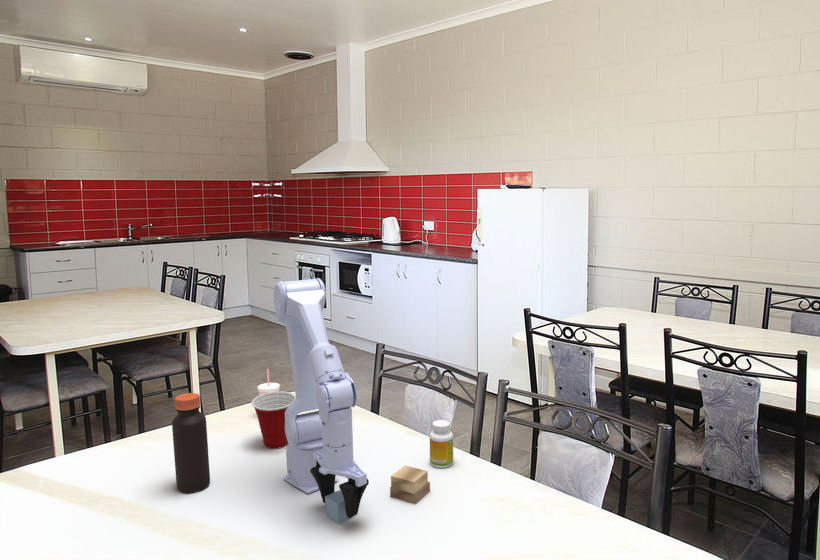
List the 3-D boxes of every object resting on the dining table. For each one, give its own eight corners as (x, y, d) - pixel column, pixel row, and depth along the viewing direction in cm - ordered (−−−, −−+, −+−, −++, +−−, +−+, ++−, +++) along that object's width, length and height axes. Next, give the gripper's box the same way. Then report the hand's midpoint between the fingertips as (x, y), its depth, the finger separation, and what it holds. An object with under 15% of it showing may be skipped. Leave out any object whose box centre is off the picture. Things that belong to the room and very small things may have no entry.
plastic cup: (248, 453, 142) (245, 406, 140) (261, 435, 152) (259, 391, 151) (292, 453, 141) (290, 406, 139) (302, 435, 152) (300, 391, 150)
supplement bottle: (451, 469, 132) (451, 428, 130) (428, 467, 133) (427, 426, 131) (454, 459, 137) (454, 419, 135) (431, 457, 138) (431, 418, 137)
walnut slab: (390, 498, 120) (390, 487, 120) (405, 486, 125) (405, 475, 125) (415, 506, 117) (415, 494, 117) (430, 493, 122) (429, 482, 122)
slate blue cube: (325, 515, 113) (325, 496, 113) (342, 508, 116) (341, 489, 116) (338, 523, 111) (337, 503, 110) (354, 515, 113) (354, 496, 113)
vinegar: (197, 475, 131) (191, 389, 128) (216, 483, 127) (211, 395, 124) (170, 488, 125) (163, 398, 122) (189, 497, 121) (182, 404, 118)
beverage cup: (255, 419, 163) (252, 371, 161) (264, 412, 169) (261, 365, 167) (276, 421, 162) (273, 372, 160) (284, 413, 168) (282, 365, 166)
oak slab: (391, 487, 120) (390, 475, 119) (405, 476, 124) (405, 465, 124) (414, 493, 117) (414, 482, 117) (427, 482, 122) (427, 471, 121)
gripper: (298, 436, 114) (301, 502, 116) (344, 459, 103) (346, 531, 105) (328, 426, 119) (330, 489, 120) (374, 447, 108) (376, 516, 110)
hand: (340, 508), depth 113 cm, fingers open, 7 cm apart
